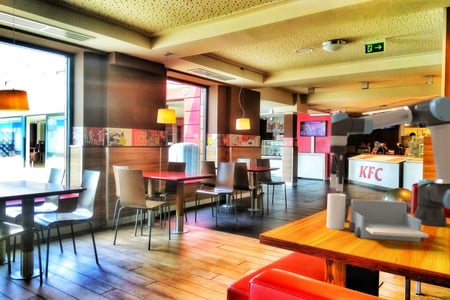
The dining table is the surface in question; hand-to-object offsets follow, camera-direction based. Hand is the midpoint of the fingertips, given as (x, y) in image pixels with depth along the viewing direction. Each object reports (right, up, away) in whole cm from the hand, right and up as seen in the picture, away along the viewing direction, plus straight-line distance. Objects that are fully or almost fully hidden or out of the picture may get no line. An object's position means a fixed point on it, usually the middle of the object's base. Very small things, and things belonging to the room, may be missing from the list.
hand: (336, 189), depth 158 cm
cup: (0, -19, 0) cm, 19 cm away
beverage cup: (+9, -19, +15) cm, 26 cm away
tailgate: (+17, -15, -20) cm, 30 cm away
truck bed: (+18, -19, -10) cm, 28 cm away
